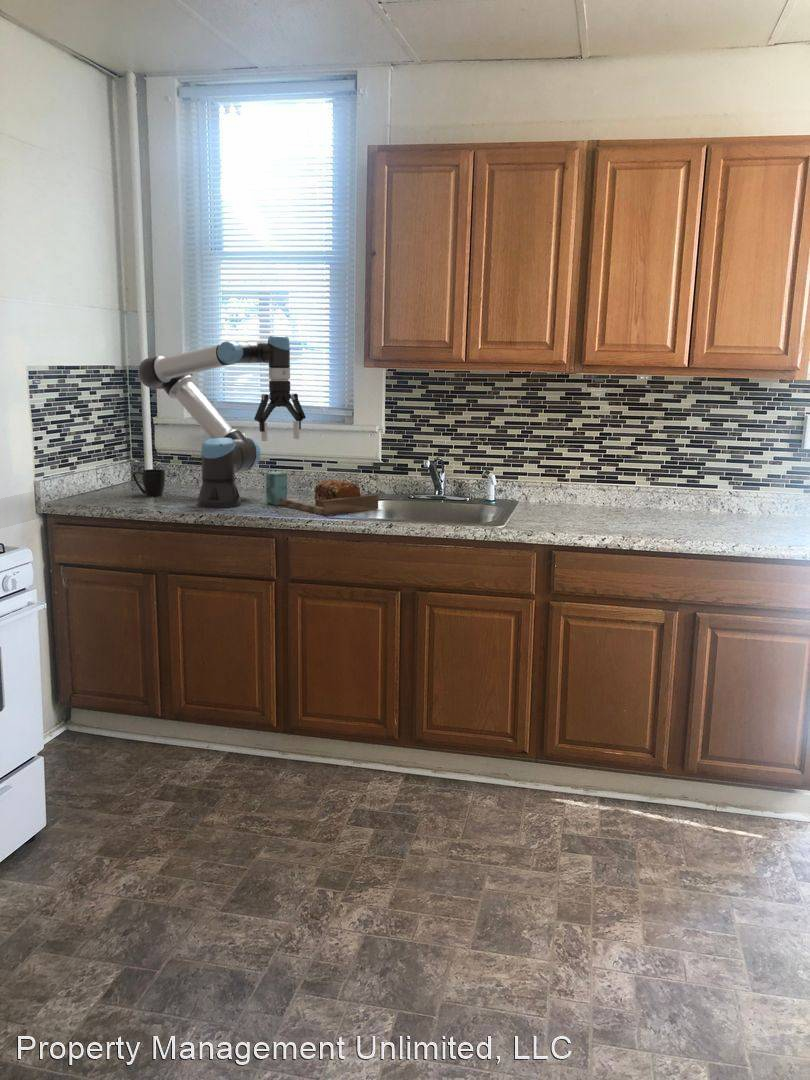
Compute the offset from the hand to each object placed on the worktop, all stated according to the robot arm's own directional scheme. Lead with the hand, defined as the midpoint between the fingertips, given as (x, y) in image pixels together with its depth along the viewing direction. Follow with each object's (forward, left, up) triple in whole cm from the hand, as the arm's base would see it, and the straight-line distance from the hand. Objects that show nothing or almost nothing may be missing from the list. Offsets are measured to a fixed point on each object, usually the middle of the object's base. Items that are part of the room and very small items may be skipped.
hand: (280, 440), depth 330 cm
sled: (+13, +9, -23) cm, 28 cm away
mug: (-43, -31, -23) cm, 58 cm away
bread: (+18, +12, -24) cm, 32 cm away
